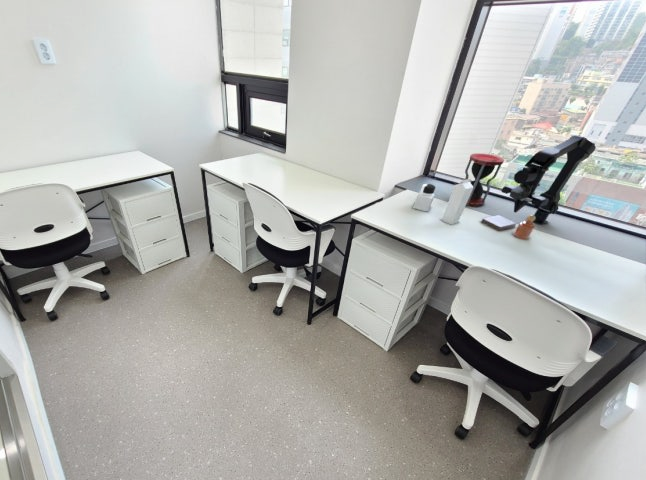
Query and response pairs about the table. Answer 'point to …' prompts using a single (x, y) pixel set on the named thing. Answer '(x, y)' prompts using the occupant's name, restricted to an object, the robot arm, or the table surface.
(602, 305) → the table surface
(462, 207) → the milk
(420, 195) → the container
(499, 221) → the riser
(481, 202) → the hourglass
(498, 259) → the table surface
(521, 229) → the bottle
